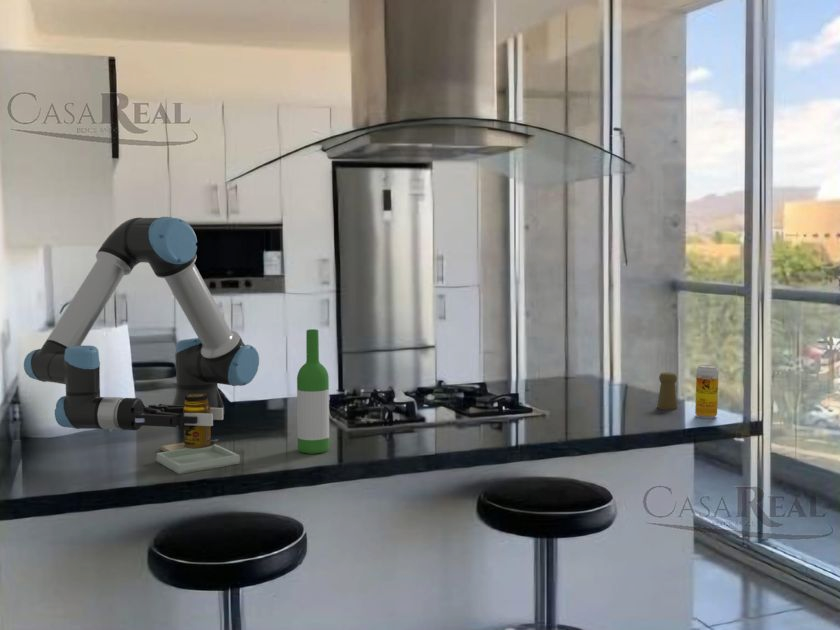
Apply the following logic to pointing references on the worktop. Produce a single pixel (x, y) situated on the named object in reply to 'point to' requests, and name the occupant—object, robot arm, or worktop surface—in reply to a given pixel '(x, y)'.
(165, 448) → the bench board
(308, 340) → the wine bottle
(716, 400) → the beer can
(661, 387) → the cork
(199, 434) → the condiment
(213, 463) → the tray
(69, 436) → the worktop surface
